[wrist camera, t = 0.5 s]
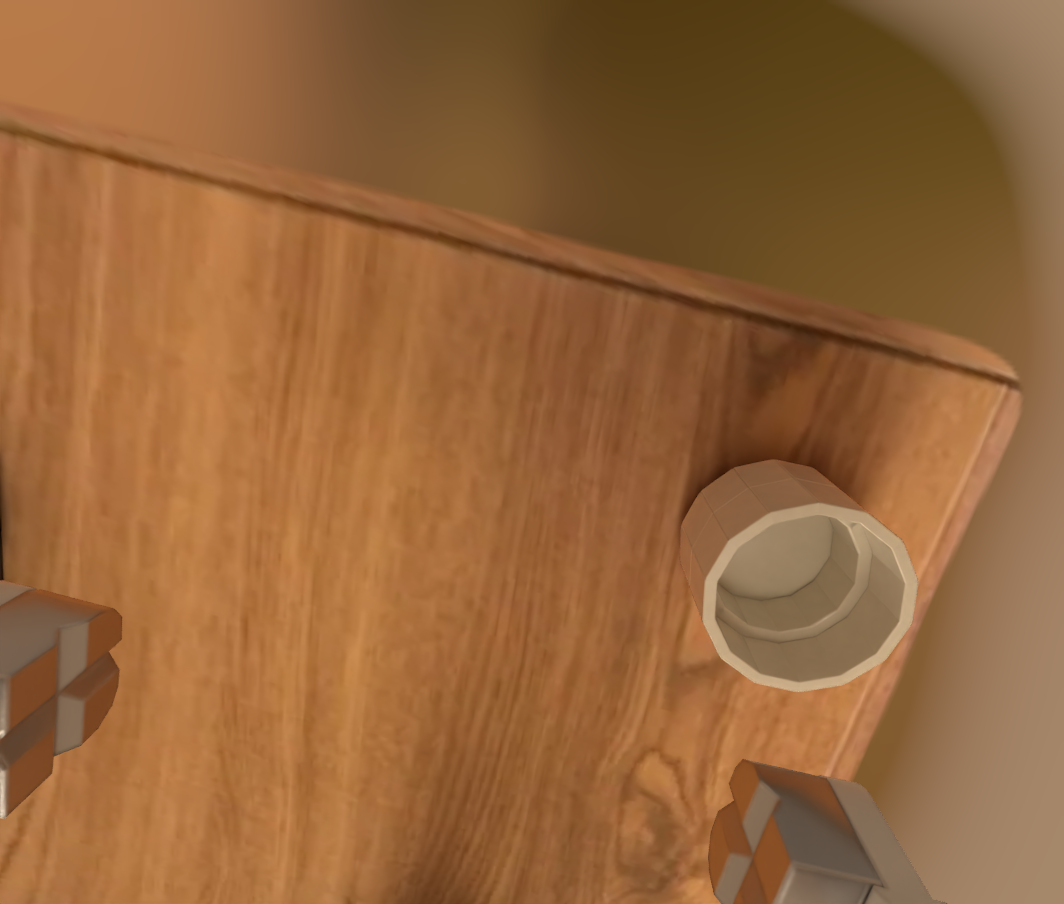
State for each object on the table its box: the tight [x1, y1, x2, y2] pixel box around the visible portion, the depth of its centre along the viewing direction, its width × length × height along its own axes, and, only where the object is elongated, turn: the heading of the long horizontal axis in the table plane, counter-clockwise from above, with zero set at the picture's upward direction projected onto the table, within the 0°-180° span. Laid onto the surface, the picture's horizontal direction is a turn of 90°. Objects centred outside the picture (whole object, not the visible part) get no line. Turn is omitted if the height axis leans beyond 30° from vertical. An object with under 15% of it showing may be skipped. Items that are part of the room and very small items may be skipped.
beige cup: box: [679, 459, 918, 692], centre depth 22 cm, size 6×6×5 cm
